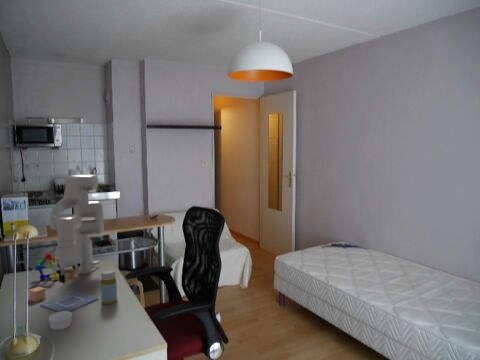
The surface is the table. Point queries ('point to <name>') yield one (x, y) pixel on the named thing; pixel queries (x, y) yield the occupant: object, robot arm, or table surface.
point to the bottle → (108, 287)
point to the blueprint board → (69, 302)
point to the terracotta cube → (37, 294)
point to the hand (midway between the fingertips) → (68, 279)
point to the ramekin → (60, 320)
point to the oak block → (70, 275)
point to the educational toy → (39, 267)
